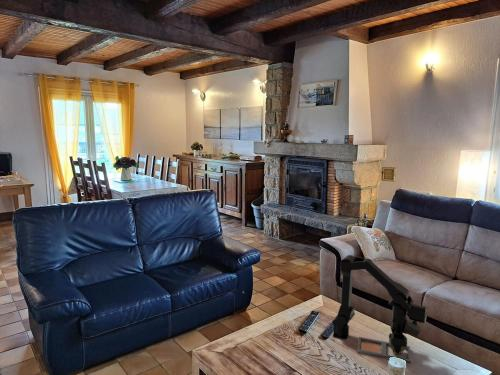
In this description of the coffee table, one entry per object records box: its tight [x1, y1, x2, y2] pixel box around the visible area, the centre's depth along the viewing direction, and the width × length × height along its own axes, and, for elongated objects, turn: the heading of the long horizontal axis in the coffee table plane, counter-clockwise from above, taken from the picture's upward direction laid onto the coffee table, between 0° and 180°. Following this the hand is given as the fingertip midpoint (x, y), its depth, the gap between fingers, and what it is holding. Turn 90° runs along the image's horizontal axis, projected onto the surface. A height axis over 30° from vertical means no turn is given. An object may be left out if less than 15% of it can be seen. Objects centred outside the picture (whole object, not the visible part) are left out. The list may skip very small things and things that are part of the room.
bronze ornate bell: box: [388, 332, 406, 356], centre depth 156 cm, size 8×7×8 cm
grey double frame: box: [356, 336, 412, 364], centre depth 158 cm, size 22×11×1 cm, turn 69°
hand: (397, 348), depth 156 cm, fingers closed on bronze ornate bell, 6 cm apart
